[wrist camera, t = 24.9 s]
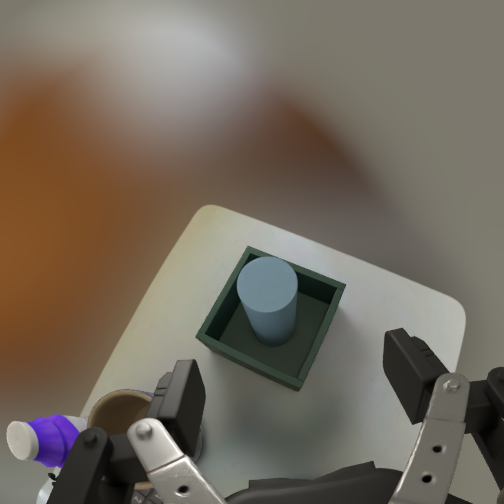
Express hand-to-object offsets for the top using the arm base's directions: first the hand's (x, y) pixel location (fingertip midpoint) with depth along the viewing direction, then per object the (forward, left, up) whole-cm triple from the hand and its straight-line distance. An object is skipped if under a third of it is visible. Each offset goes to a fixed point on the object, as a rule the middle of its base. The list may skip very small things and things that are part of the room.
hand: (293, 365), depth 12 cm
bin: (-2, -9, -26) cm, 28 cm away
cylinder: (-2, -9, -25) cm, 27 cm away
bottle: (+26, -1, -27) cm, 38 cm away
